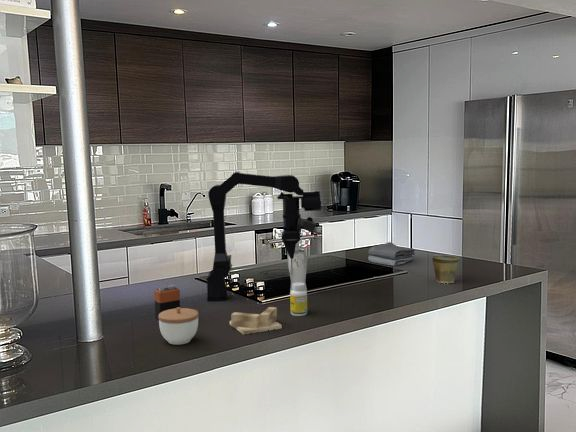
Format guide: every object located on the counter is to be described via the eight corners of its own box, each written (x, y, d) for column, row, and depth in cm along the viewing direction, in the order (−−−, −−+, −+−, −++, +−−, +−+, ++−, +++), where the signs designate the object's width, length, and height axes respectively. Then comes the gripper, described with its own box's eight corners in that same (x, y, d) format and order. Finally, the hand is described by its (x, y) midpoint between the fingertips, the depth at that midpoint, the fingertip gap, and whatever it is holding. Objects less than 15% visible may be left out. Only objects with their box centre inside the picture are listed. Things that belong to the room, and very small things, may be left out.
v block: (225, 324, 166) (225, 310, 166) (269, 317, 173) (269, 303, 172) (239, 335, 156) (239, 320, 156) (285, 327, 163) (285, 312, 162)
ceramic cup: (457, 286, 210) (458, 260, 209) (430, 284, 214) (430, 258, 212) (460, 278, 222) (460, 254, 221) (434, 276, 226) (435, 252, 224)
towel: (366, 263, 255) (367, 246, 254) (388, 257, 268) (388, 241, 267) (395, 267, 244) (395, 250, 244) (416, 261, 258) (417, 244, 257)
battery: (181, 317, 174) (180, 286, 173) (160, 321, 170) (159, 289, 169) (174, 314, 177) (173, 283, 176) (154, 318, 173) (153, 286, 172)
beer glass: (306, 294, 200) (304, 253, 197) (287, 293, 202) (285, 253, 199) (309, 287, 207) (308, 248, 204) (291, 287, 209) (289, 248, 206)
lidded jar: (205, 342, 151) (204, 309, 150) (167, 350, 145) (166, 315, 144) (189, 332, 160) (188, 300, 159) (153, 339, 154) (152, 306, 153)
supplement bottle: (289, 311, 179) (289, 281, 178) (306, 311, 180) (306, 281, 178) (291, 316, 174) (290, 286, 172) (308, 316, 174) (308, 285, 173)
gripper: (314, 214, 183) (315, 261, 185) (314, 207, 201) (315, 250, 203) (280, 215, 184) (282, 261, 186) (283, 208, 202) (285, 250, 204)
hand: (292, 255), depth 195 cm, fingers open, 9 cm apart
